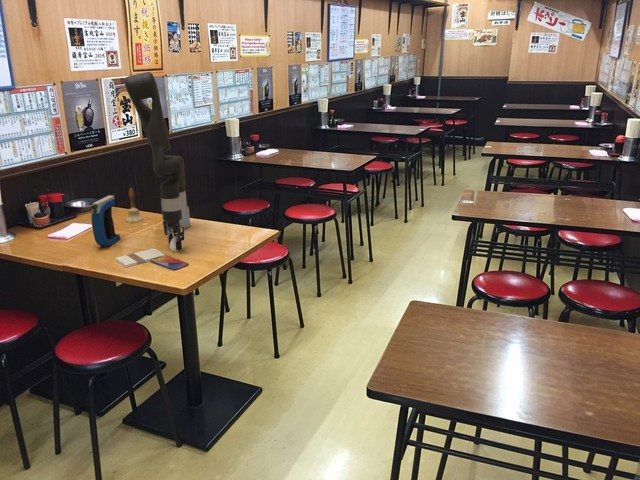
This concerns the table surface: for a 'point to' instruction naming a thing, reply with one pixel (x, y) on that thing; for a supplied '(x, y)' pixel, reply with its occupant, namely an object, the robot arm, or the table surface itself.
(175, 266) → the smartphone
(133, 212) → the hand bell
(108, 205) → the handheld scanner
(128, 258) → the white panel
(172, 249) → the garlic bulb
